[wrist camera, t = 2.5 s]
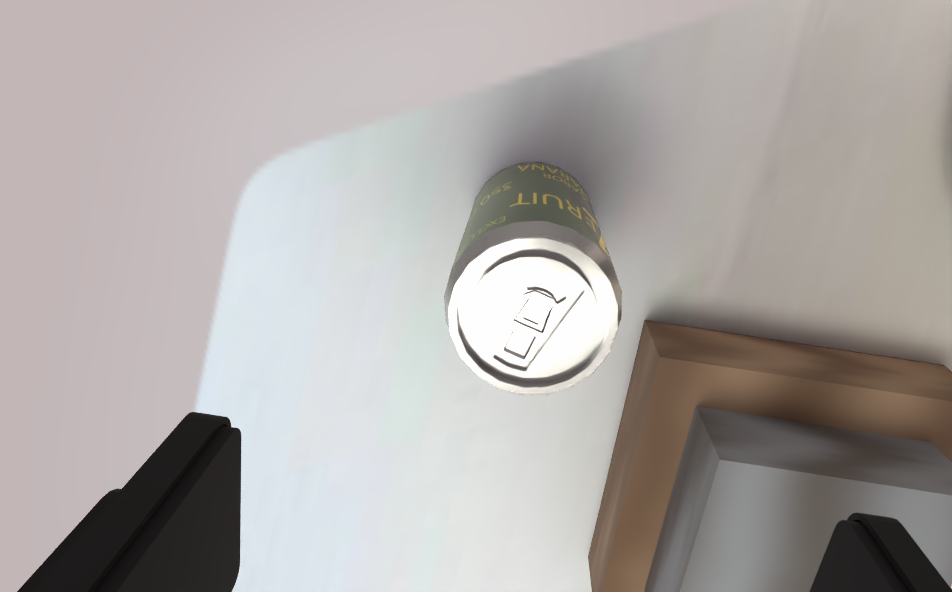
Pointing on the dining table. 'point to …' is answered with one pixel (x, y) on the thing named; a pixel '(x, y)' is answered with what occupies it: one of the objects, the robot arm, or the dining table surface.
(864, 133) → the dining table surface
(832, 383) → the plinth
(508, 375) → the green soda can
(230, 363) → the dining table surface
